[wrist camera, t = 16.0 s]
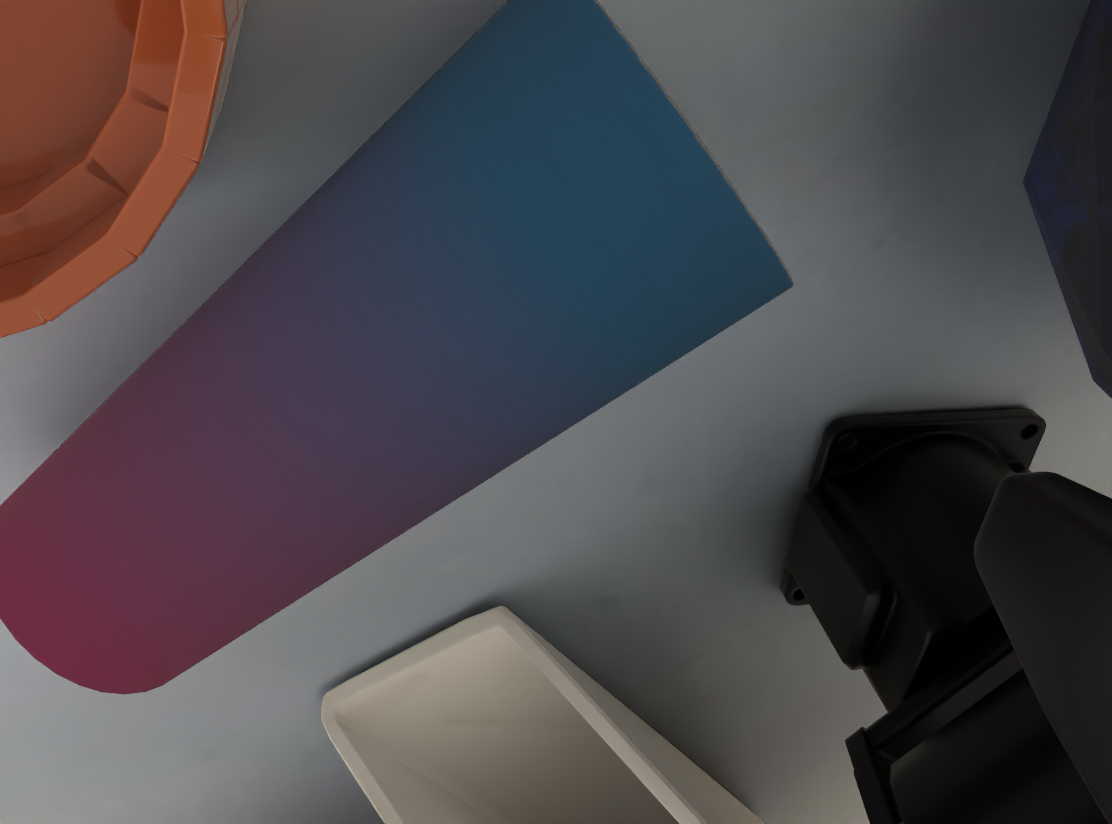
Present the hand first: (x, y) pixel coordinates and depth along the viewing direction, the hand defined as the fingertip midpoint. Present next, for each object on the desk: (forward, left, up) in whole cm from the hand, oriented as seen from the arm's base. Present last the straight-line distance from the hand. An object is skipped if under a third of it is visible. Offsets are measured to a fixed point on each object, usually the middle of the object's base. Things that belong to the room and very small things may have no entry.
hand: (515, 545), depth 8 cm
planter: (-8, +22, -13) cm, 26 cm away
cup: (+7, +9, -10) cm, 15 cm away
